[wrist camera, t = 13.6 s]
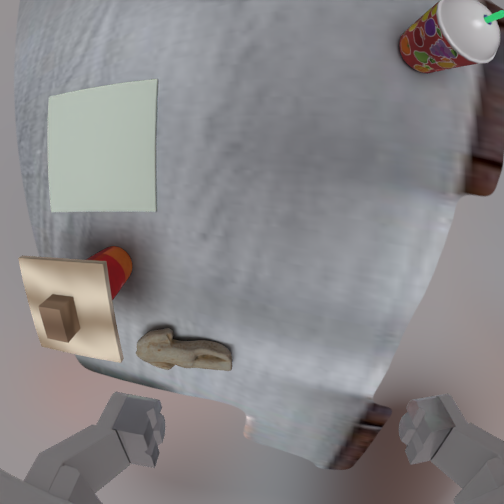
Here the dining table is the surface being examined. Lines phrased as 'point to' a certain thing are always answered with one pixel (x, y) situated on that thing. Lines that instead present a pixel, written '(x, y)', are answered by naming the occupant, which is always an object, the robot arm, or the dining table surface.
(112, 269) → the paper cup
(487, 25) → the smoothie
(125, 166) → the mat
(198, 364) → the sculpture
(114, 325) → the lid
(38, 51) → the dining table surface
